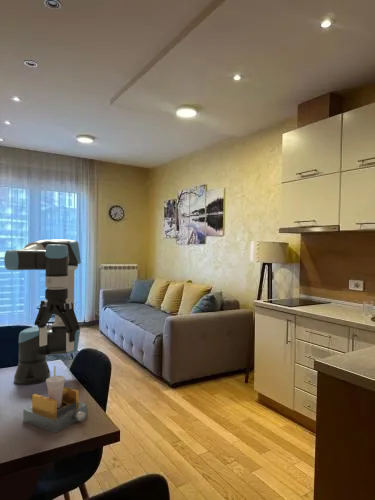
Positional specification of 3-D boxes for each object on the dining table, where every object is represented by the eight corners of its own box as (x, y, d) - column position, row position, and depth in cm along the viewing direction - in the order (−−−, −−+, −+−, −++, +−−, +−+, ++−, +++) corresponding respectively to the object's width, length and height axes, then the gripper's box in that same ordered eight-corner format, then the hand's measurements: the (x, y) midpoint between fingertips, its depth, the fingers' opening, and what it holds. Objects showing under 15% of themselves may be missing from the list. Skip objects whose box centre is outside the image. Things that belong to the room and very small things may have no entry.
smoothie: (58, 400, 129) (58, 362, 129) (68, 405, 125) (68, 365, 125) (42, 406, 124) (42, 367, 124) (52, 412, 120) (52, 370, 120)
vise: (23, 421, 122) (23, 395, 122) (56, 405, 134) (56, 382, 134) (61, 435, 113) (62, 407, 113) (93, 417, 125) (93, 392, 125)
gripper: (24, 287, 127) (23, 345, 127) (73, 291, 115) (73, 356, 115) (41, 285, 134) (41, 341, 134) (90, 289, 122) (90, 350, 122)
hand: (56, 348), depth 124 cm, fingers open, 13 cm apart
